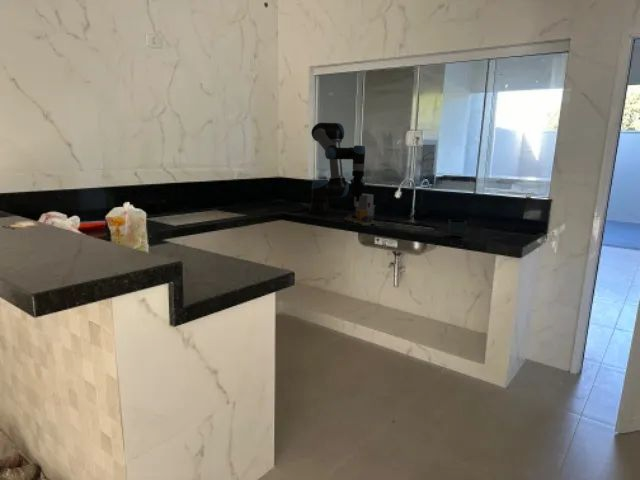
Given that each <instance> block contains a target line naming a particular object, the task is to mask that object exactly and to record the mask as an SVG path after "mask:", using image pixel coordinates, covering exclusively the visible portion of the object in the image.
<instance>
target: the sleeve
mask: <svg viewBox="0 0 640 480" xmlns="http://www.w3.org/2000/svg"><path fill="white" fill-rule="evenodd" d="M355 214H356V217H357V219H358V220H362V218H364V216H368V210H364V209H363V210H357V212H356V211H355Z"/></svg>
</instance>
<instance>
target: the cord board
mask: <svg viewBox="0 0 640 480" xmlns="http://www.w3.org/2000/svg"><path fill="white" fill-rule="evenodd" d="M346 220H347V221H346ZM344 221H346V222H349V221H351V222H350V223H352V222H354V223H353V224H356V223H358V224H357V225H359V224H361V225H360V226H362V225H363V226H362V227H364V225H366V226H372V225H371V224H375V225H379V221H377V220H373V216H369V215H368V216H364V218H362V220H358V219H357V217H356V213H349V214H346V216H345V218H344Z"/></svg>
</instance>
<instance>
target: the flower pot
mask: <svg viewBox="0 0 640 480" xmlns="http://www.w3.org/2000/svg"><path fill="white" fill-rule="evenodd" d="M447 220H448V231H449V233H451V234H454V235H463V236H464V235H465V232H466V229H467V225H468V222H467V221H466V220H464V219H447ZM451 234H450V235H451Z"/></svg>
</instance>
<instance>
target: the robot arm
mask: <svg viewBox="0 0 640 480" xmlns="http://www.w3.org/2000/svg"><path fill="white" fill-rule="evenodd" d="M311 137H312V139H313V140H314V141H316V142H317V143H318V144H319V145H320V146H321V147H322V149H323V150H324V156H325V158H326V159H327V160H329V169H330V171H329V172H330V178H329V179H328V178H327V179H325V178H324V179H316V180H313V181H312V183H311V201H310V202H311V203H310V205H309V209H308V213H309V214H313V215H328V214H330V213H331V208H330V204H329V199H332V198H333V199H334V198H336V199H337V198H345V197H346V196H347V195H348V193H349V190H350V189H349V188H350V187H349V186H351V194H352V195H353V206H354V207H355V208H356V206H359V197H360V196H362V194H363V193H364V187H365V184H366V182H365V181H363V177H364V175H365V171H364V170H365V163H366V162H365V159H366V148H365V147H366V146H365V145H357V144H356V145H354V146H352V147H351V146H350V147H341V143H342V141H343V140H344V137H345V130H344V126H343V125H342V123H340V122H318V123H316V124H315V125H314V126H313V127H312V129H311ZM342 160H352V172H351V176H352V179H350V185H349V181H348V180H346V177H345V176H344V175H343V173H344V172H343V163H342Z"/></svg>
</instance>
